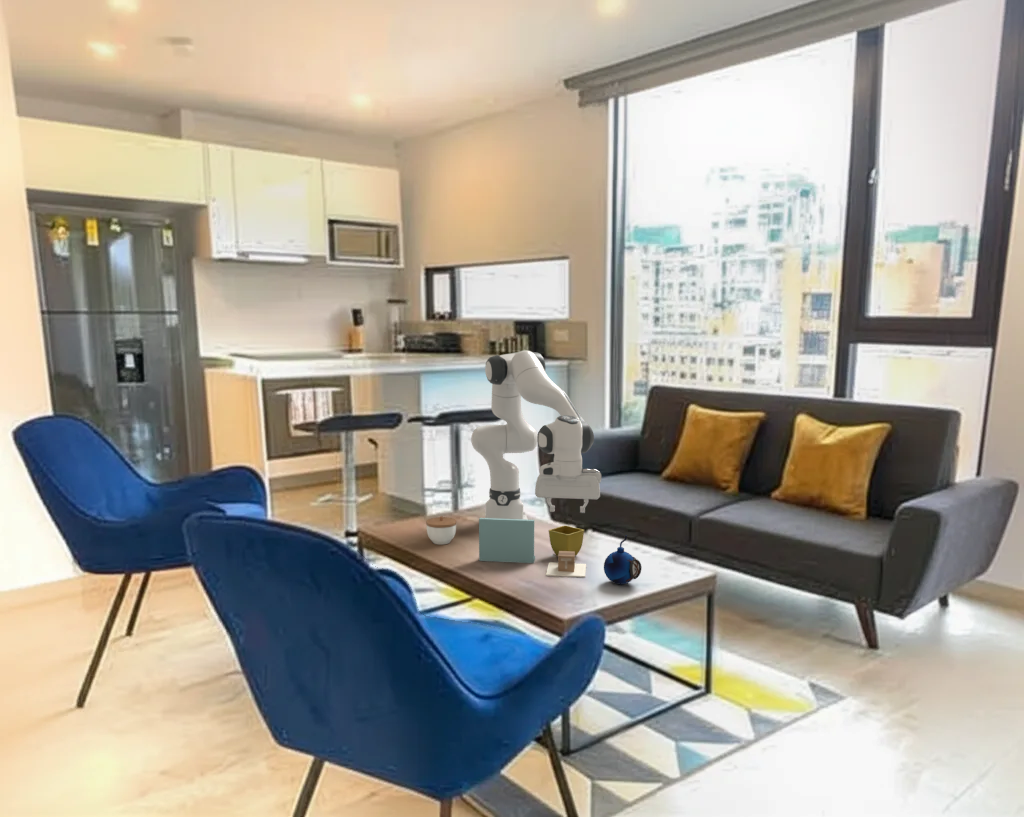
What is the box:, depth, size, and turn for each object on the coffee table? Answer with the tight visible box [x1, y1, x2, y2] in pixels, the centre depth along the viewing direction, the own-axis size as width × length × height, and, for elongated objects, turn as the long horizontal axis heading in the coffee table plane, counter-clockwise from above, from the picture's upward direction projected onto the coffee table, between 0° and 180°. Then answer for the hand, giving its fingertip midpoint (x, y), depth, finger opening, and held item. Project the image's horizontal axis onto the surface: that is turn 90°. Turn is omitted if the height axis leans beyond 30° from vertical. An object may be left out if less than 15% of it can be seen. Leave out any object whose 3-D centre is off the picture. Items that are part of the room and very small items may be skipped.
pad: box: [545, 561, 587, 578], centre depth 231 cm, size 12×12×1 cm
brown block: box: [557, 551, 576, 572], centre depth 231 cm, size 5×5×5 cm
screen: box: [478, 517, 536, 564], centre depth 241 cm, size 5×18×14 cm, turn 83°
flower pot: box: [548, 525, 585, 557], centre depth 246 cm, size 9×9×9 cm
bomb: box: [603, 535, 642, 585], centre depth 219 cm, size 10×11×15 cm
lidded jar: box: [425, 515, 457, 546], centre depth 262 cm, size 11×11×9 cm
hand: (567, 512), depth 230 cm, fingers open, 8 cm apart
